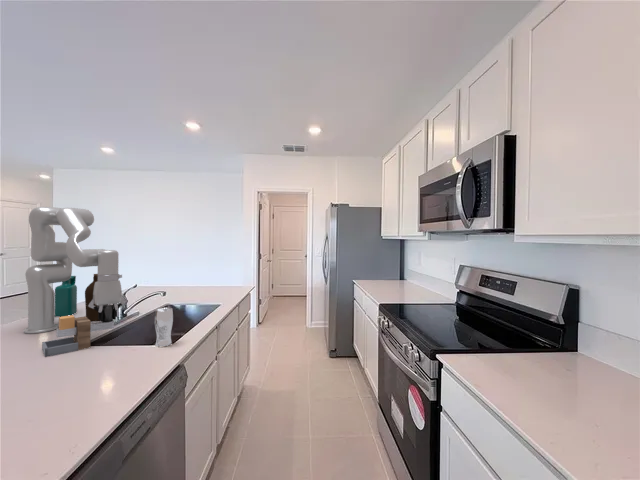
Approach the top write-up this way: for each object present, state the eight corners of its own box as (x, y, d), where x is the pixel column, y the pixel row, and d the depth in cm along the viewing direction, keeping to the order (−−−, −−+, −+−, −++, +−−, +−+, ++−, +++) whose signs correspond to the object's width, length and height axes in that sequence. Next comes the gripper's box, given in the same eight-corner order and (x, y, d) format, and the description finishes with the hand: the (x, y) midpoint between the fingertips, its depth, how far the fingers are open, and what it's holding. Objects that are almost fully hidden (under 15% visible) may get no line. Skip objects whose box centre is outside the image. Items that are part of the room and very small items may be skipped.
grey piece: (56, 335, 124) (56, 310, 124) (111, 326, 138) (112, 304, 138) (57, 338, 121) (57, 312, 121) (114, 328, 135) (114, 305, 135)
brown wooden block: (73, 343, 130) (73, 318, 130) (85, 341, 133) (85, 316, 133) (78, 350, 123) (78, 322, 123) (90, 347, 126) (90, 320, 126)
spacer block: (58, 327, 125) (58, 316, 125) (72, 325, 128) (72, 315, 128) (60, 330, 122) (60, 318, 122) (74, 327, 125) (74, 317, 125)
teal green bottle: (70, 316, 175) (71, 277, 175) (53, 317, 173) (53, 277, 172) (79, 312, 184) (79, 275, 184) (62, 312, 182) (62, 275, 182)
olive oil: (112, 318, 171) (112, 273, 171) (90, 323, 162) (90, 275, 162) (102, 315, 176) (103, 272, 176) (80, 320, 167) (81, 274, 167)
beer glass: (167, 347, 127) (167, 311, 127) (150, 347, 128) (151, 311, 128) (175, 341, 134) (176, 307, 134) (160, 341, 135) (160, 307, 134)
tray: (42, 349, 123) (42, 342, 123) (73, 343, 131) (73, 336, 131) (45, 357, 116) (45, 349, 116) (78, 350, 123) (78, 342, 123)
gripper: (127, 275, 143) (127, 315, 144) (82, 279, 131) (82, 321, 131) (132, 277, 138) (131, 318, 138) (86, 280, 126) (85, 325, 126)
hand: (107, 319), depth 135 cm, fingers closed on grey piece, 4 cm apart
